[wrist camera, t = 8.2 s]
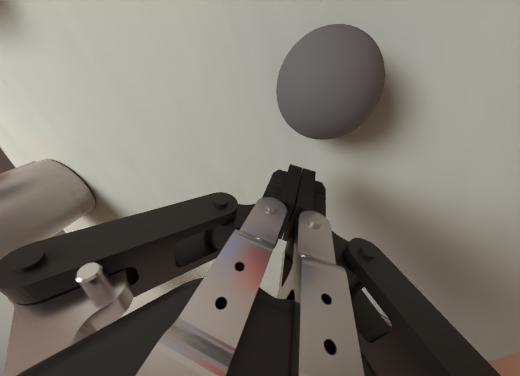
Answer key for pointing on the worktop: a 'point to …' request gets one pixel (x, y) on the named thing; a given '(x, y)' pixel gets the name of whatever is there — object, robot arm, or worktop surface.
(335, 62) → the grey smooth round ball
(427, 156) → the worktop surface
